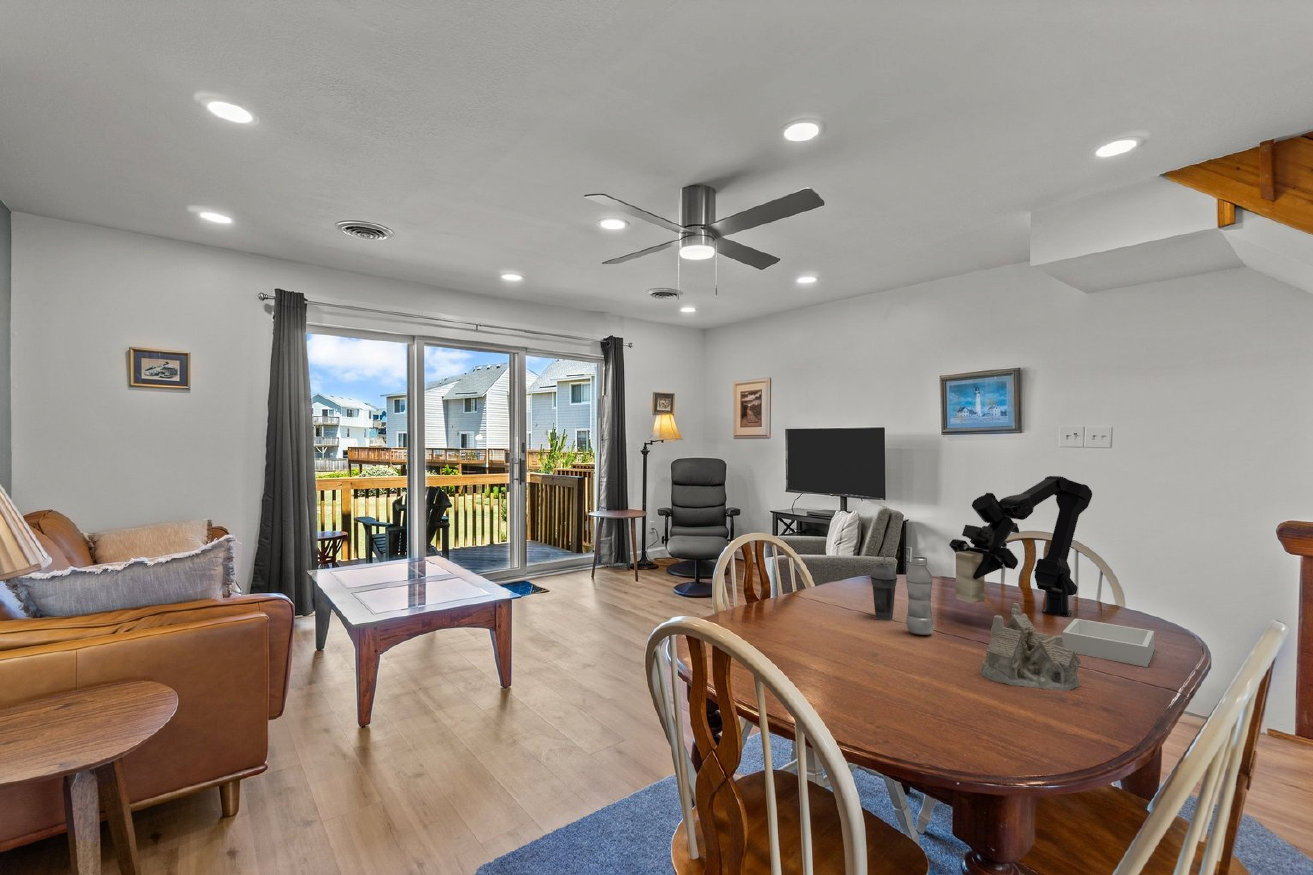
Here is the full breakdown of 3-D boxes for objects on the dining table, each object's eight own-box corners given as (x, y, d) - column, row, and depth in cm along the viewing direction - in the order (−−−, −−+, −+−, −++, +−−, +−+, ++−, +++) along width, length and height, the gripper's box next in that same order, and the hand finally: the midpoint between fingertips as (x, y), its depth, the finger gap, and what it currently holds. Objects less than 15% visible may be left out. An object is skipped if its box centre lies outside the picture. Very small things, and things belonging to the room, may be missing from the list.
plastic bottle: (938, 637, 157) (937, 560, 158) (911, 637, 158) (911, 559, 158) (927, 630, 164) (927, 555, 164) (902, 630, 164) (901, 555, 164)
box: (1075, 635, 159) (1075, 618, 159) (1154, 649, 148) (1154, 631, 148) (1062, 650, 147) (1062, 632, 147) (1147, 667, 136) (1147, 646, 136)
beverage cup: (893, 614, 179) (893, 546, 179) (901, 622, 171) (900, 550, 172) (867, 614, 179) (867, 546, 180) (874, 621, 172) (873, 550, 172)
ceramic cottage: (968, 669, 135) (973, 602, 134) (1021, 663, 141) (1026, 598, 140) (1034, 702, 120) (1040, 626, 120) (1090, 692, 126) (1096, 620, 126)
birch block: (969, 597, 172) (969, 550, 172) (984, 601, 168) (984, 554, 167) (955, 598, 171) (955, 552, 171) (970, 603, 166) (970, 555, 166)
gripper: (953, 511, 179) (924, 551, 176) (1009, 518, 162) (978, 563, 158) (974, 536, 182) (945, 576, 178) (1031, 546, 164) (1001, 591, 160)
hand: (966, 576), depth 169 cm, fingers closed on birch block, 5 cm apart
